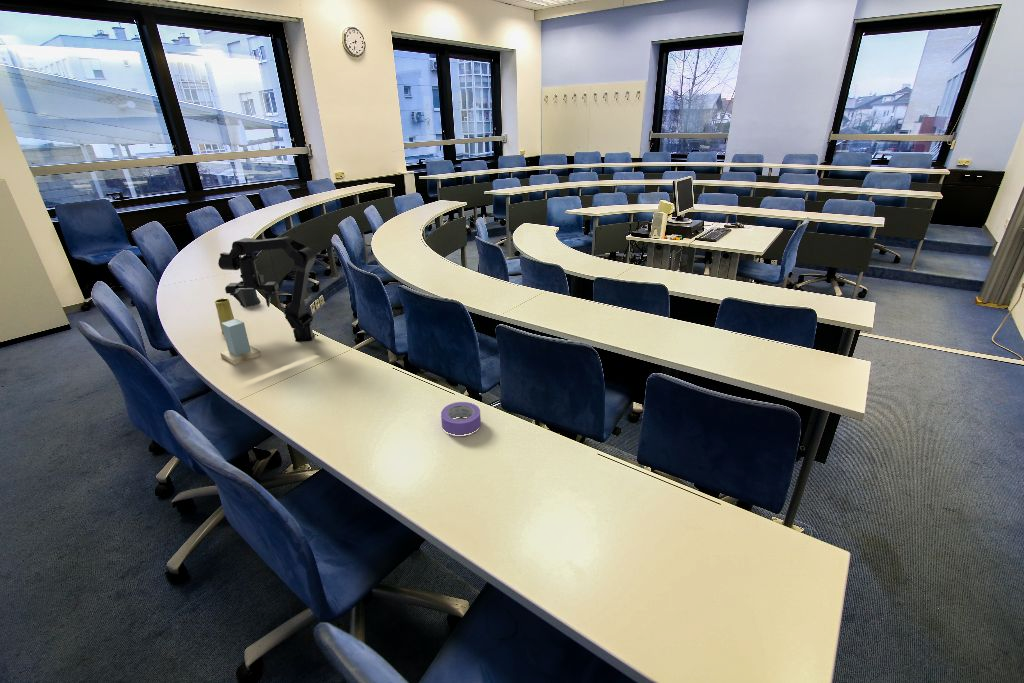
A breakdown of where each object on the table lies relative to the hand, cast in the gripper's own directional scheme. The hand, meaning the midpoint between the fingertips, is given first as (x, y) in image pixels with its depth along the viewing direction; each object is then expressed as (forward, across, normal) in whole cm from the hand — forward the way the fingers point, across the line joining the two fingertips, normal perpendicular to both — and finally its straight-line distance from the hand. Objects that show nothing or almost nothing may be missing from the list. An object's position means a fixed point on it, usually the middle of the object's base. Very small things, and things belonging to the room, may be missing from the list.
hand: (256, 307), depth 194 cm
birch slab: (+12, +1, +22) cm, 25 cm away
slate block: (+10, +1, +22) cm, 24 cm away
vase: (+13, +16, -7) cm, 22 cm away
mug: (+13, +20, -44) cm, 50 cm away
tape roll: (+13, -80, +77) cm, 112 cm away
